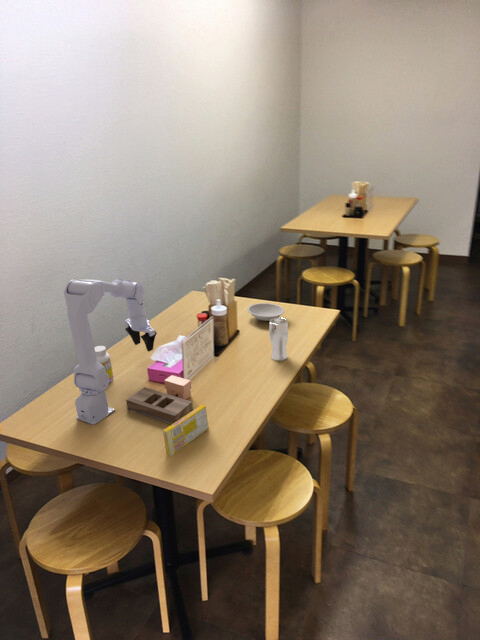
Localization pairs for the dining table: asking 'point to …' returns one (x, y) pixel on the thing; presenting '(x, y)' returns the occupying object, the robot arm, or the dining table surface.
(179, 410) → the slot base
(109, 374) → the supplement bottle
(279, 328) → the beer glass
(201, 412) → the candy box
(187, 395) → the peach arch block
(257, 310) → the dish
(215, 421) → the dining table surface
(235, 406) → the dining table surface
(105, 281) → the robot arm
